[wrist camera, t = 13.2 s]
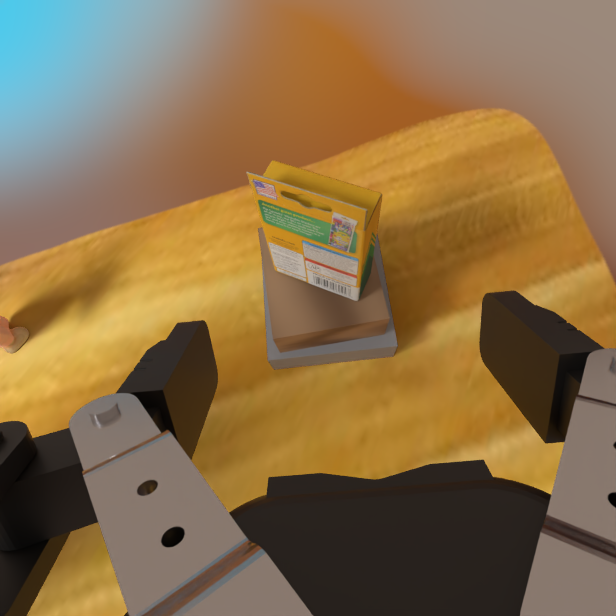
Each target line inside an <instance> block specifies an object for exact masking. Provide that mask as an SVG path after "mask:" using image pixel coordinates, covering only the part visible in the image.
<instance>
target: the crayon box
mask: <svg viewBox="0 0 616 616" xmlns="http://www.w3.org/2000/svg"><path fill="white" fill-rule="evenodd" d="M246 173H247V176H248V179H249V182H250V186H251V188H252V191H253V196H254V200H255V203H256V206H257V210H258V213H259V217H260V220H261V223H262V227H263V230H264V234H265V237H266V241H267V244H268V248H269V251H270V255H271V258H272V261H273V265H274V269H275V270H276V271H277V272H279V273H283V274H286V275H288V276H291V277H294V278H296V279H299V280H302V281H305V282H307V283H309V284H312V285H315V286H317V287H320V288H323V289H325V290H328V291H331V292H334V293H336V294H339V295H342V296H344V297H347V298H350V299H352V300H354V301H358V300H359V299H360V297H361V294H362V292H363V290H364V288H365V285H366V283H367V281H368V278H369V276H370V274H371V268H372V262H373V255H374V248H375V241H376V235H377V228H378V221H379V215H380V208H381V202H382V194H381V193H379V192H376V191H372V190H369V189H366V188H363V187H359V186H356V185H353V184H350V183H346V182H343V181H340V180H337V179H333V178H330V177H327V176H323V175H320V174H317V173H314V172H310V171H307V170H304V169H300V168H297V167H294V166H290V165H287V164H283V163H280V162H277V161H274V160H273V161H272V162H271V163H270V165H269V167H268V169H267V170H266V172H265V173H264V175H263V176H261V175H258V174H255V173H251V172H246Z"/></svg>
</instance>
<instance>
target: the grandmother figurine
mask: <svg viewBox="0 0 616 616" xmlns="http://www.w3.org/2000/svg"><path fill="white" fill-rule="evenodd" d="M28 336H29V331H28V330H27V329H26V328H24V327H15V328H13V329H11V330H10V329H9V322H8V320H7V319H6V318H5V317H2V316H0V347H2V348H3V349H4V350H5V351H6V352H8V353H14V352H16V351H17V350H18V349H19V348H20V347H21V346H22V345H23V344H24V342H25V341H26V340H27V339H28Z"/></svg>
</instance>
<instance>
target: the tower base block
mask: <svg viewBox="0 0 616 616" xmlns="http://www.w3.org/2000/svg"><path fill="white" fill-rule="evenodd" d="M374 258H375V262H376V266H377V270H378V274H379V278H380V282H381V286H382V290H383V294H384V297H385V301H386V305H387V309H388V313H389V317H390V319H389V322H388V325H387V328H386V332H385V334H384V335H379V336H373V337H367V338H362V339H356V340H350V341H345V342H339V343H333V344H328V345H322V346H316V347H311V348H305V349H300V350H294V351H288V352H283V353H280V352H279V350H278V348H277V346H276V344H275V342H274V340H273V336H272V329H271V321H270V314H269V306H268V299H267V292H266V284H265V277H264V269H263V262H262V269H263V286H264V303H265V321H266V338H267V355H268V361H269V363H270V364H271V366H272V367H273V369H284V368H293V367H302V366H311V365H320V364H329V363H339V362H348V361H357V360H366V359H375V358H384V357H393V355H394V353H395V351H396V349H397V347H398V344H397V339H396V333H395V328H394V323H393V317H392V312H391V306H390V301H389V295H388V290H387V284H386V279H385V273H384V268H383V262H382V257H381V251H380V246H379V240H378V235H376V241H375V248H374Z"/></svg>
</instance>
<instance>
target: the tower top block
mask: <svg viewBox="0 0 616 616" xmlns="http://www.w3.org/2000/svg"><path fill="white" fill-rule="evenodd" d="M258 232H259V240H260V247H261V254H262V262H263V269H264V277H265V284H266V292H267V299H268V306H269V314H270V321H271V329H272V336H273V340H274V342H275V344H276V346H277V348H278V350H279V352H280V353H283V352H288V351H294V350H300V349H305V348H311V347H316V346H322V345H328V344H333V343H339V342H345V341H350V340H356V339H362V338H367V337H373V336H379V335H384V334H385V332H386V328H387V325H388V322H389V319H390V317H389V313H388V309H387V305H386V301H385V297H384V294H383V290H382V286H381V282H380V278H379V274H378V270H377V266H376V262H375V258H374V255H373V262H372V268H371V274H370V276H369V278H368V281H367V283H366V285H365V288H364V290H363V292H362V294H361V297H360V299H359V300H358V301H354V300H352V299H350V298H347V297H344V296H342V295H339V294H336V293H334V292H331V291H328V290H325V289H323V288H320V287H317V286H315V285H312V284H309V283H307V282H305V281H302V280H299V279H296V278H294V277H291V276H288V275H286V274H283V273H279V272H277V271H276V270H275V269H274V265H273V261H272V258H271V255H270V251H269V248H268V244H267V241H266V237H265V234H264V230H263V228H258Z"/></svg>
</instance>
